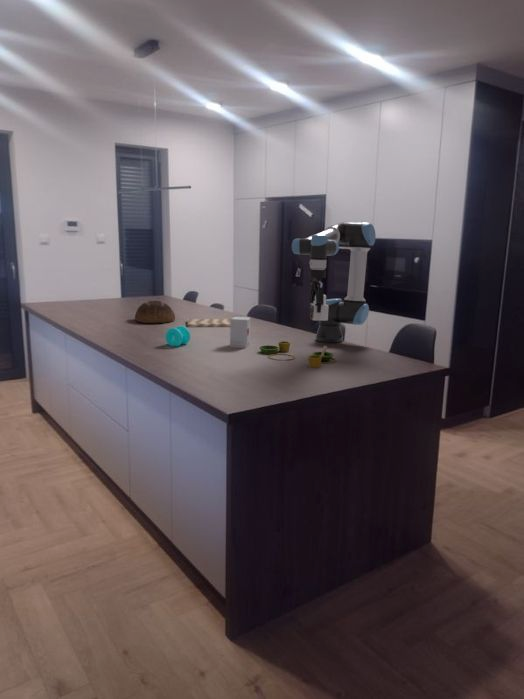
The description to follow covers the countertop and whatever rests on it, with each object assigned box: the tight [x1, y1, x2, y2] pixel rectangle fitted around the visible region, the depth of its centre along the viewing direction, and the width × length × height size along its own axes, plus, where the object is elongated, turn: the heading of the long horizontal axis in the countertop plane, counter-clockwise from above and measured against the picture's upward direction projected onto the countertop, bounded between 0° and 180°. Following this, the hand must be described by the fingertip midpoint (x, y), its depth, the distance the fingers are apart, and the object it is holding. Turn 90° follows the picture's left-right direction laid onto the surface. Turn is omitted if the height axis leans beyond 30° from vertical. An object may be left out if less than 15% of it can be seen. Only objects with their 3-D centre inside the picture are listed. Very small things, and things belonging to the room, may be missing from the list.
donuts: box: [165, 325, 191, 347], centre depth 278 cm, size 10×10×10 cm
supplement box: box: [229, 316, 251, 349], centre depth 279 cm, size 9×9×15 cm
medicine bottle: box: [309, 294, 329, 322], centre depth 252 cm, size 7×7×12 cm
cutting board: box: [186, 318, 232, 328], centre depth 344 cm, size 30×20×2 cm, turn 100°
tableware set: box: [258, 340, 337, 368], centre depth 256 cm, size 41×28×6 cm
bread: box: [134, 300, 176, 324], centre depth 351 cm, size 26×27×13 cm
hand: (315, 318), depth 252 cm, fingers closed on medicine bottle, 7 cm apart
